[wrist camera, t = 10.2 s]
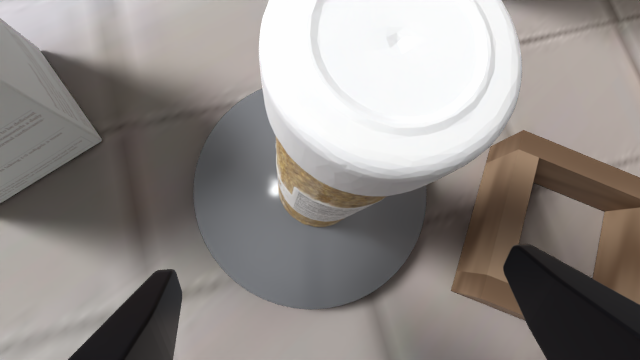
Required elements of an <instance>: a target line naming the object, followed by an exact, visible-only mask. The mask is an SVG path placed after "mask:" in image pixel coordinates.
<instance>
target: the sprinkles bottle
mask: <svg viewBox="0 0 640 360" xmlns="http://www.w3.org/2000/svg"><path fill="white" fill-rule="evenodd" d="M259 62H260V74H261V82H262V89H263V96H264V102H265V108H266V112H267V116H268V119H269V122H270V125H271V127H272V129H273V131H274V134H275V135H276V167H277V176H278V191H279V197H280V200H281V202H282V204H283V206H284V208H285V209H286V210H287V212H288V213H289V214H290V215H291V216H292V217H293V218H295V219H296V220H298V221H299V222H301V223H303V224H305V225H310V226H314V227H326V226H330V225H334V224H336V223H338V222H339V221H341V220H342V219H344V218H346V217H348V216H350V215H352V214H354V213H356V212H358V211H360V210H363V209H365V208H367V207H369V206H371V205H373V204H375V203H377V202H379V201H381V200H382V199H384V198H385V197H387V196H390V195H396V194H401V193H405V192H409V191H412V190H415V189H418V188H420V187H423V186H425V185H427V184H429V183H431V182H434V181H436V180H438V179H440V178H442V177H444V176H446V175H448V174H450V173H452V172H454V171H456V170H457V169H459V168H461V167H463V166H465V165H466V164H468V163H469V162H471V161H472V160H474V159H475V158H476V157H478V156H479V155H480V154H481V153H483V152H484V151H485V150H487V149H488V148H489V147H490V146H491V144H492V143H493V142H494V141H495V140H496V139H497V138H498V136H499V135H500V134H501V132H502V131H503V129H504V127H505V126H506V124H507V122H508V121H509V119H510V117H511V115H512V113H513V111H514V109H515V106H516V103H517V99H518V95H519V91H520V85H521V78H522V58H521V51H520V43H519V40H518V36H517V33H516V30H515V27H514V24H513V22H512V19H511V17H510V14H509V13H508V11H507V9H506V7H505V6H504V4H503V2H502V0H269V2H268V5H267V8H266V10H265V13H264V16H263V19H262V24H261V29H260V39H259Z"/></svg>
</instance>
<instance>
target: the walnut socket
mask: <svg viewBox="0 0 640 360" xmlns="http://www.w3.org/2000/svg"><path fill="white" fill-rule="evenodd" d="M533 183H536V184H538V185H541V186H543V187H546V188H548V189H550V190H553V191H555V192H558V193H560V194H563V195H565V196H568V197H570V198H573V199H575V200H578V201H580V202H582V203H585V204H587V205H590V206H592V207H595V208H597V209H600V210H602V211H605V213H604V218H603V224H602V230H601V235H600V241H599V246H598V252H597V258H596V263H595V269H594V274H593V279H594V280H596V281H598V282H599V283H601V284H603V285H605V286H607V287H609V288H610V289H612V290H614V291H616V292H618V293H619V294H621V295H623V296H625V297H627V298H629V299H630V300H632V301H634V302H636V303H638V304H639V305H640V177H637V176H635V175H632V174H630V173H627V172H625V171H622V170H620V169H618V168H615V167H613V166H610V165H608V164H605V163H603V162H600V161H598V160H596V159H593V158H591V157H588V156H586V155H583V154H581V153H578V152H576V151H574V150H571V149H569V148H566V147H564V146H561V145H559V144H556V143H554V142H552V141H549V140H547V139H544V138H542V137H539V136H537V135H534V134H532V133H530V132H527V131H525V130H523V131H521V132H519V133H517V134H515V135H513V136H511V137H509V138H507V139H505V140H503V141H501V142H499V143H497V144H495V145H493V146H491V147H490V151H489V154H488V158H487V162H486V165H485V169H484V172H483V176H482V180H481V183H480V187H479V191H478V194H477V198H476V202H475V205H474V209H473V212H472V216H471V220H470V223H469V227H468V231H467V234H466V238H465V241H464V245H463V249H462V252H461V256H460V260H459V263H458V267H457V271H456V274H455V278H454V281H453V285H452V289H451V291H453V292H455V293H458V294H460V295H463V296H465V297H468V298H470V299H473V300H475V301H478V302H480V303H483V304H485V305H488V306H490V307H493V308H495V309H498V310H500V311H503V312H505V313H508V314H510V315H513V316H515V317H518V318H520V319H523V320H525V319H524V316H523V314H522V312H521V310H520V308H519V305H518V303H517V301H516V299H515V297H514V294H513V292H512V290H511V288H510V286H509V283H508V281H507V279H506V277H505V275H504V271H503V265H504V263H505V261H506V258H507V256H508V254H509V252H510V250H511V248H512V247H513V246H514V245H519V241H520V236H521V232H522V228H523V224H524V219H525V215H526V211H527V207H528V202H529V198H530V194H531V190H532V185H533Z"/></svg>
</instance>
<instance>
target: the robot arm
mask: <svg viewBox="0 0 640 360" xmlns="http://www.w3.org/2000/svg"><path fill="white" fill-rule="evenodd" d="M503 271H504V275H505V277H506V279H507V281H508V283H509V286H510V288H511V290H512V292H513V294H514V297H515V299H516V301H517V303H518V305H519V308H520V310H521V312H522V314H523V316H524V319H525V321H526V323H527V325H528V327H529V329H530V330H531V332H532V334H533V336H534V338H535V339H536V341H537V343H538V345H539V346H540V348H541V350H542V352H543V353H544V355H545V357H546V359H547V360H640V305H639V304H638V303H636V302H634V301H632V300H630V299H629V298H627V297H625V296H623V295H621V294H619V293H618V292H616V291H614V290H612V289H610V288H609V287H607V286H605V285H603V284H601V283H599V282H598V281H596V280H594V279H592V278H590V277H589V276H587V275H585V274H583V273H581V272H579V271H578V270H576V269H574V268H572V267H570V266H569V265H567V264H565V263H563V262H561V261H559V260H558V259H556V258H554V257H552V256H550V255H549V254H547V253H545V252H543V251H541V250H540V249H538V248H536V247H534V246H532V245H530V244H519V245H514V246H513V247H512V248H511V250H510V252H509V254H508V256H507V258H506V261H505V263H504V265H503ZM181 303H182V290H181V287H180V284H179V281H178V277H177V274H176V272H175V270H173V269H167V270H158V271H156V272H154V273H153V274H152V275H151V276H150V277H149V278H148V279H147V280H146V281H145V282H144V283H143V284H142V285H141V286H140V287H139V288H138V289H137V290H136V291H135V292H134V293H133V294H132V295H131V296H130V297H129V298H128V299H127V300H126V301H125V302H124V303H123V304H122V305H121V306H120V307H119V308H118V309H117V310H116V312H115V313H114V314H113V315H112V316H111V317H110V318H109V319H108V320H107V321H106V322H105V323H104V324H103V325H102V326H101V327H100V328H99V329H98V330H97V331H96V332H95V333H94V334H93V335H92V336H91V337H90V338H89V339H88V340H87V341H86V342H85V343H84V344H83V345H82V346H81V347H80V348H79V349H78V350H77V351H76V352H75V353H74V354H73V355H72V356H71V357H70V358H69V359H68V360H173V355H174V349H175V343H176V336H177V329H178V323H179V316H180V309H181Z"/></svg>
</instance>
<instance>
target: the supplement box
mask: <svg viewBox="0 0 640 360" xmlns="http://www.w3.org/2000/svg"><path fill="white" fill-rule="evenodd" d="M101 141H102V139H101V137H100V136H99V134H98V133H97V132H96V130H95V129H94V127H93V126H92V124H91V123H90V121H89V120H88V119H87V117H86V116H85V114H84V113H83V112H82V110H81V109H80V107H79V105H78V104H77V103H76V101H75V100H74V99H73V97H72V96H71V94H70V93H69V91H68V90H67V88H66V87H65V86H64V84H63V83H62V81H61V80H60V78H59V77H58V75H57V74H56V73H55V71H54V70H53V69H52V67H51V66H50V64H49V63H48V61H47V60H46V58H45V57H44V55H43V54H42V53H41V51H40V50H39V48H38V47H36V46H35V45H34V44H33V43H31V42H30V41H29V40H27V39H26V38H25V37H23V36H22V35H21V34H20V33H18V32H17V31H16V30H14V29H13V28H12V27H11V26H9V25H8V24H7V23H6V22H4V21H3V20H2V19H0V203H2V202H3V201H5V200H7V199H8V198H10V197H11V196H13V195H15V194H16V193H18V192H20V191H21V190H23V189H24V188H26V187H28V186H29V185H31V184H32V183H34V182H36V181H37V180H39V179H41V178H42V177H44V176H46V175H47V174H49V173H50V172H52V171H54V170H55V169H57V168H59V167H60V166H62V165H63V164H65V163H67V162H68V161H70V160H72V159H73V158H75V157H76V156H78V155H80V154H81V153H83V152H85V151H86V150H88V149H89V148H91V147H93V146H94V145H96V144H98V143H99V142H101Z"/></svg>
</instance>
